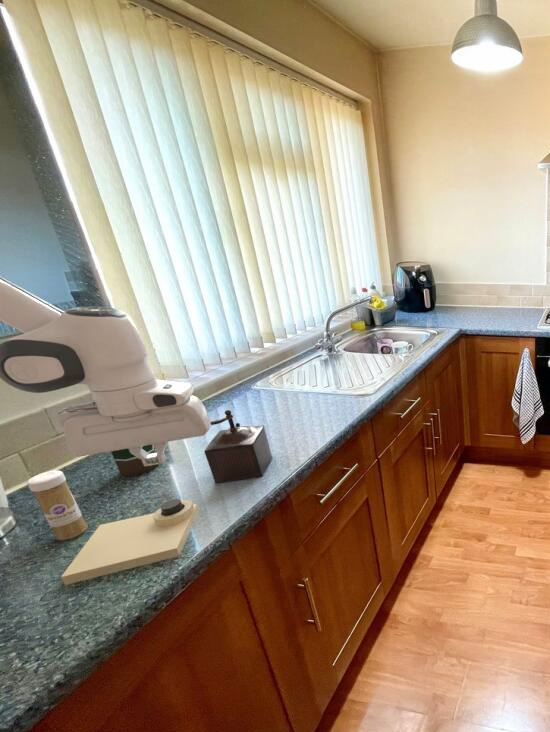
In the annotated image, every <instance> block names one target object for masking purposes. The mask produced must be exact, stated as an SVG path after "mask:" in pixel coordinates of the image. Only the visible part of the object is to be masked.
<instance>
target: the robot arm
mask: <svg viewBox="0 0 550 732" xmlns="http://www.w3.org/2000/svg"><path fill="white" fill-rule="evenodd" d="M0 322H2V323H4V324H6V325H7V326H9V327H11V328H14V329H16V330H18V331H20V332H22V334H18V335H16V336H13V337H11V338H9V339H7V340H4V342H1V343H0V379H1V380H2V381H3V382H4V383H6V384H7V385H9V386H11V387H13V388H15V389H17V390H20V391H23V392H27V393H34V394H41V393H42V394H43V393H48V392H49V393H50V392H52V391H53V392H54V391H59V390H61V389H62V390H63V389H65V388H69V387H73V386H75V385H80V384H81V385H82V384H83V385H85V386H87V388H88V390H89V392H90V395H91V397H92V399H93V401H91V402H86V403H80V404H71V405H66V406H64V408H62V409H60V410H59V411H58V412H57V414H56V419H57V422H58V424H59V426H60V427H61V428H62V429H63V433H64V434H63V435H64V437H65V438H64V439H65V442H66V445H67V449H68V450H69V453H70V454H72V455H74V456H77V457H86V456H91V455H98V454H104V453H111V451H116V450H122V449H129V451H130V453H131V454H133V455H134V456H136V457H137V458H139V459H141V460H142V462H143V464H144V466H150V465H155V464H158V465H160V464H165V462H166V461H167V457H166V455H165V451H166V447H167V444H168V442H173V441H180V440H186V439H191V438H197V437H203V436H206V434H207V433H208V432H209V430H210V428H211V426H212V425H211V422H212V420H211V419H210V415H209V413H208V411H207V409H206V407H205V405H204V403H203V402H202V401H201V399H200V398H198V397H197V396H194V395H193V393H194V387H193V385H192V384H191V383H189V382H179V381H171V380H162V379H158V378H157V376H156V374H155V372H154V371H153V369H152V368H151V366H150V365H149V361H148V360H149V355H148V351H147V348H146V345H145V342H144V340H143V338H142V335H141V333H140V331H139V330H138V328H137V326H136V324H135V322H134V321H133V319H132V318H131V317H130V316H129V314H127V313H126V312H125V311H123V310H121V309H117V308H114V307H108V306H77V307H72V308H69V309H66V310H63V309H61V308H59V307H57V306H55V305H54V304H51V303H50V302H48V301H46V300H44V299H42V298H41V297H39V296H37V295H35V294H34V293H32V292H30V291H28V290H26V289H25V288H22V287H21V286H19V285H18V284H16V283H13V282H12V281H11V280H8V279H6V278H4V277H3V276H1V275H0ZM151 444H153V446H154V449H158V450H157V452H156V453H152V454H149V453H147V452H146V451H145V450H143V449H142V447H143V446H145V445H151Z"/></svg>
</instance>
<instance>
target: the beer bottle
mask: <svg viewBox="0 0 550 732" xmlns="http://www.w3.org/2000/svg"><path fill="white" fill-rule="evenodd" d="M142 449H143V450H145V451H146V452H147V453H149V454H152V453H157V452H156V448H155V447H154V445H153V444H151V445H145V446H143V447H142ZM110 454H111V456H112V457H113V460H114V462H115V464H116V467H117V469H118V471H119V473H120V475H121V476H123V477H135V476H139V475H143V474H146V473H148V472H151V471H152V470H154V469H155V468H157V467H158V466H159V464H155V465H150V466H144V464H143V462H142V460H141V459H139V458H137V457H136V456H134V455H133V454H131V453H130V451H129V449H122V450H116V451H110Z"/></svg>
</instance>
